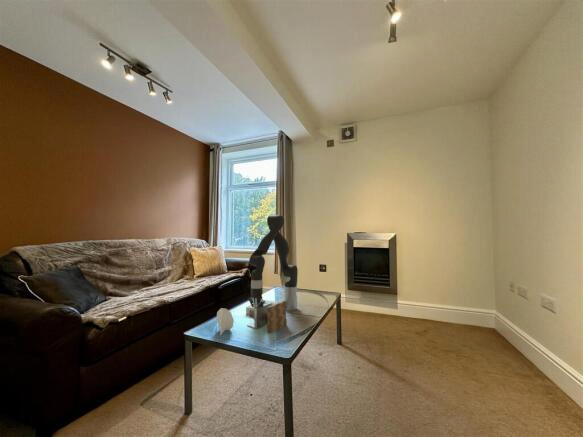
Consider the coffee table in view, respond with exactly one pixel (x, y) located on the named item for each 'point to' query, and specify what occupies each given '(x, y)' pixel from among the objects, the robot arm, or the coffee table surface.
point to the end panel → (276, 316)
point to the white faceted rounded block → (224, 320)
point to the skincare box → (263, 304)
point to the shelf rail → (253, 316)
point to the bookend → (260, 316)
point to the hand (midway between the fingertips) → (256, 314)
